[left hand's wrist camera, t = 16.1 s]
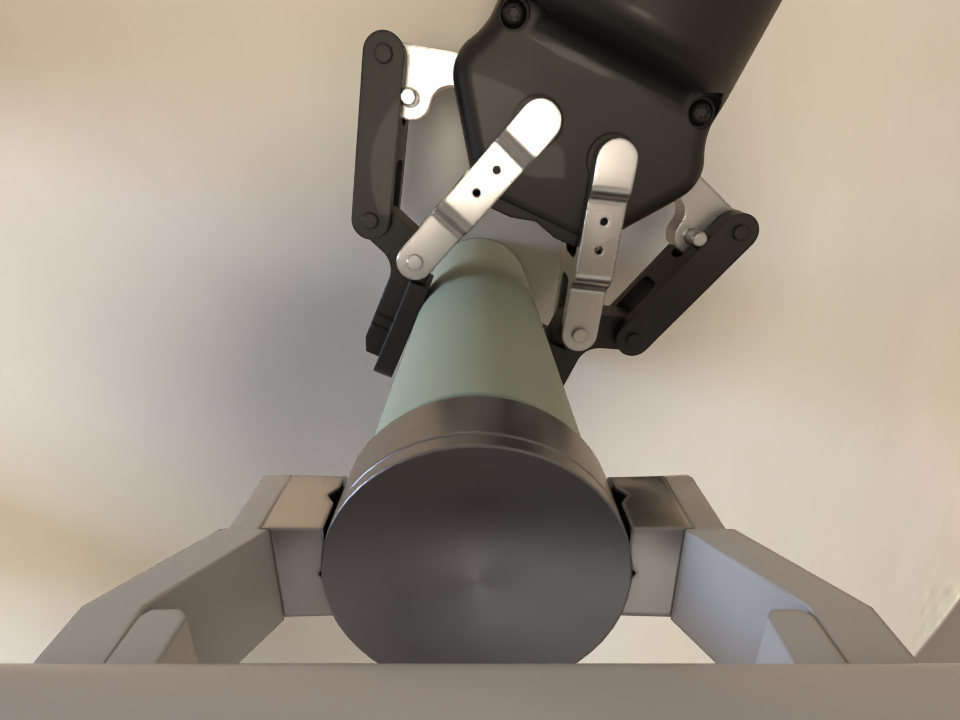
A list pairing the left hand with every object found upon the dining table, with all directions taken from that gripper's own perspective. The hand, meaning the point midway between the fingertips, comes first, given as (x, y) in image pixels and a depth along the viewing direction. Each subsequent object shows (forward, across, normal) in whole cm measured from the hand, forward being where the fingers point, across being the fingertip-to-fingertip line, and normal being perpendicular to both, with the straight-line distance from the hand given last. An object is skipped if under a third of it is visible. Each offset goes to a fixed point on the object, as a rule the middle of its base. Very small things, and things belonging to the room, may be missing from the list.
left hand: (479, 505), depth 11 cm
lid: (-2, 0, 0) cm, 2 cm away
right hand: (+10, -1, -2) cm, 11 cm away
